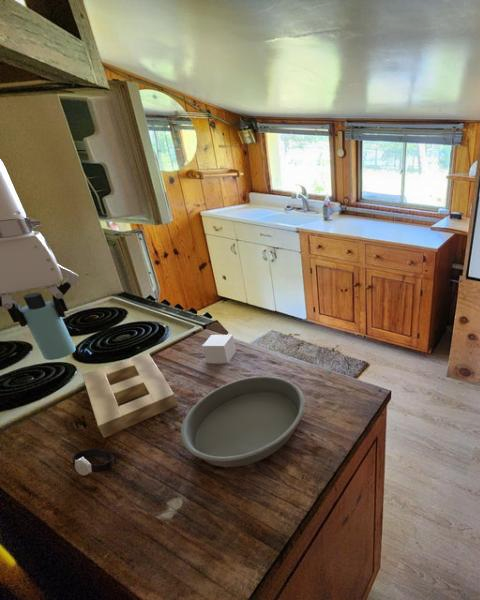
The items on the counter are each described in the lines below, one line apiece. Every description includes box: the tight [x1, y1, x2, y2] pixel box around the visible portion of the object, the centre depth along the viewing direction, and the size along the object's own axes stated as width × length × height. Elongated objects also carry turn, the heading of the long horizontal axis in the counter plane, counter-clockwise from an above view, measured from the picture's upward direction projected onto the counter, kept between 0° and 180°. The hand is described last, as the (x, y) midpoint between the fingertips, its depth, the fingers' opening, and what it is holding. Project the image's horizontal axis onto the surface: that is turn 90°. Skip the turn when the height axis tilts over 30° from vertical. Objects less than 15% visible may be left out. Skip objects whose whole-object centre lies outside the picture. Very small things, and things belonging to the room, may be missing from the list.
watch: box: [71, 448, 115, 476], centre depth 62 cm, size 8×5×4 cm, turn 77°
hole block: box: [82, 352, 179, 439], centre depth 80 cm, size 14×24×4 cm, turn 47°
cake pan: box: [180, 375, 306, 468], centre depth 72 cm, size 25×25×4 cm
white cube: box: [201, 334, 237, 364], centre depth 95 cm, size 6×6×6 cm
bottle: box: [20, 292, 77, 361], centre depth 65 cm, size 5×5×14 cm
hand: (43, 318), depth 65 cm, fingers closed on bottle, 4 cm apart
